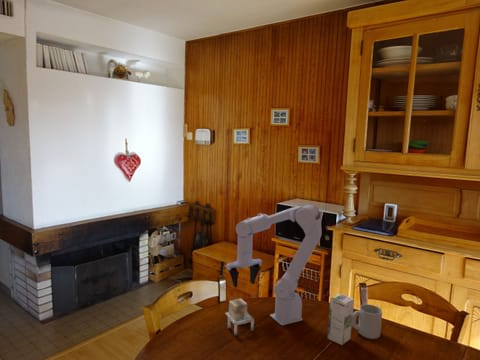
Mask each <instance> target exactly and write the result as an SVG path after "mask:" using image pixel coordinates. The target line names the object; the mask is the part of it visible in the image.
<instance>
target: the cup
mask: <svg viewBox="0 0 480 360" xmlns="http://www.w3.org/2000/svg"><path fill="white" fill-rule="evenodd" d="M357 317H358V324H357V321H356V320H357ZM382 317H383V310H382V308H380V307H379V306H378V305H373V304H367V303H365V304H361V305H360V306H359V310H355V311H353V318H352V328H353V329H356V330H358V333H359V334H360V335H361V336H362V337H363V338H366V339H371V340H375V339H379V338H380V337H381V331H382V330H381V329H382V321H383V320H382V319H383V318H382Z"/></svg>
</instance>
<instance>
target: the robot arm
mask: <svg viewBox="0 0 480 360" xmlns="http://www.w3.org/2000/svg"><path fill="white" fill-rule="evenodd" d="M287 220H290V221H291V222H293V223H295V222H296V223H297V224H298V225H299V227H301V229H302V230H303V232H304V235H305V236H304V238H303V239H302V242H301V243H300V245H299V247H298V249H297V251H296V253H295V254H294V257H293V258H292V259H291V261H290V264H289V266H288V268H287V270H286V271H285V273H284V274H283V276H282V277H281V279H280V280H279V281H278V282H277V283H275V284H274V286H273V292H274V295H275V303H274V304H275V305H274V307H275V308H274V313H271V314H269V316H270V318H272V319H273V320H274V321H275V322H277V323H278V324H279V325H281V326H286V325H290V324H294V323H296V322H300V321H303V317H302V309H303V301H302V298H301V296H300V295H299V294H298V293H297V292H296V291H295V290H296V289H297V288H298V285H299V283H298V282H299V279H300V275H301V273H302V272H303V270H304V268H305V267H306V264H307V262H308V261H309V259H310V258H311V256H312V254H313V252H314V250H315V248H316V246H317V245H318V243H319V241H320V239H321V237H322V235H323V234H322V232H323V231H322V214H321V212H320V210H319V208H318V207H317V205H315V204H312V203H308V204H306V205H304V204H303V205H299V206H293V207H291V208H287V209H285V210H281V211H279V212H276V213H274V214H271V215H268V214H266V213H262V212H261V213H258V214H257V216H254V217H253V216H252V217H248V218H246V219H244V220H242V221H240V222H238V223H237V224H236V226H235V232H236V234H237V255H236V257H237V258H236V260H235V261H232V262H230V263H229V262H228V263H226V269H227V271H228V272H229V275H230V277H231V282H232V286H233V287H234V288H238V281H239V280H238V278H239V274H240V271H238V269H240V268H246V267H248V268H249V282H250V283H251V284H252V285H255V282H256V279H257V275H259V272H260V271H261V269H262V268H261V266H262V264H263V263H262V262H263V261H262V259H260V258H255V259H254V258H253V244H254V243H253V242H254V241H253V237H254V236H253V234H256V233H259V232H263V231H265V230H269V229H270V228H271V226H272V225H273V224H277V223H281V222H284V221H287Z"/></svg>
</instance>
